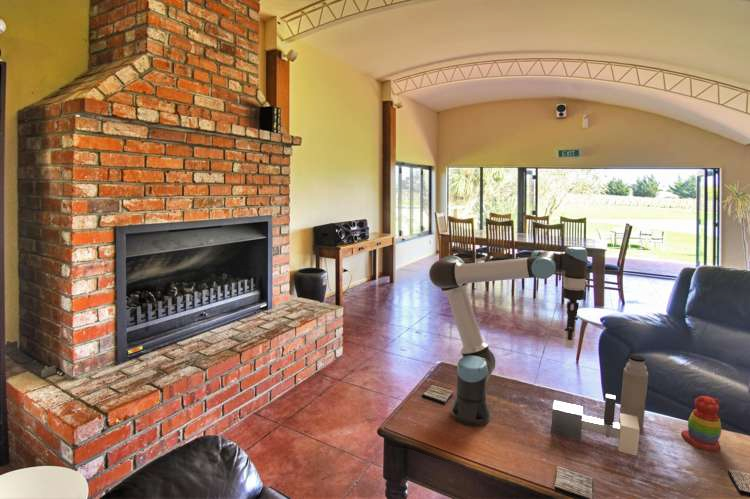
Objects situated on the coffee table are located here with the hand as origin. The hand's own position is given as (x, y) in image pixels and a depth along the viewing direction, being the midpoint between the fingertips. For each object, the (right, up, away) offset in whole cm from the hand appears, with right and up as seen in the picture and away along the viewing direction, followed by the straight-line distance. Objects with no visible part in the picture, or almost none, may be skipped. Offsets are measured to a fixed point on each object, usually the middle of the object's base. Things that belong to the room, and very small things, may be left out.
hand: (570, 341), depth 160 cm
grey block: (-3, -33, -3) cm, 34 cm away
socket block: (+15, -35, -12) cm, 40 cm away
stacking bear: (+43, -35, -10) cm, 56 cm away
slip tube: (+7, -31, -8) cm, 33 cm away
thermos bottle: (+24, -33, +1) cm, 41 cm away
